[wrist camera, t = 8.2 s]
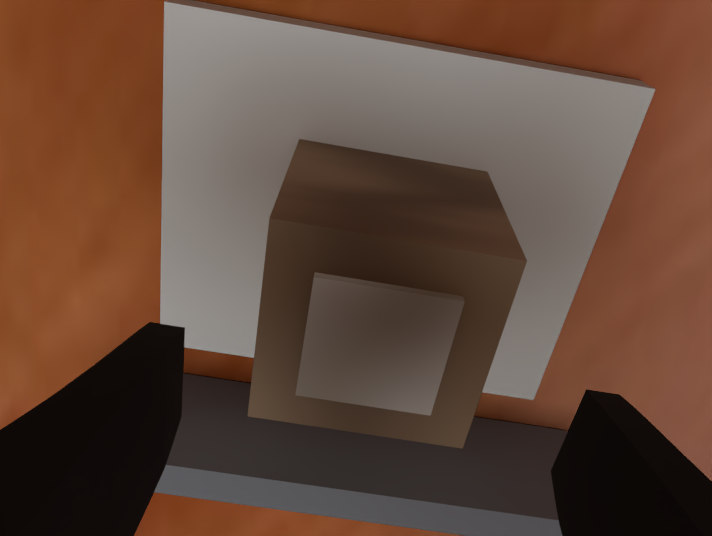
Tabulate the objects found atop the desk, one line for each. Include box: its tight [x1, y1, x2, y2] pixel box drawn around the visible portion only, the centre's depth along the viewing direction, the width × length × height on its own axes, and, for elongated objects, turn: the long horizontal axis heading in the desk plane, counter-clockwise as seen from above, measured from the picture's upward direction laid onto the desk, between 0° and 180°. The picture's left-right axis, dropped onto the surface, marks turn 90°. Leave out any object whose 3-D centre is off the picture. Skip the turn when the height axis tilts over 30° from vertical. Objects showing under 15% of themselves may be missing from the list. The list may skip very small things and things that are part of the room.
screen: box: [154, 373, 567, 536], centre depth 20 cm, size 16×1×4 cm, turn 81°
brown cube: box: [248, 139, 527, 449], centre depth 15 cm, size 5×5×5 cm
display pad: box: [160, 0, 655, 400], centre depth 18 cm, size 12×10×1 cm
